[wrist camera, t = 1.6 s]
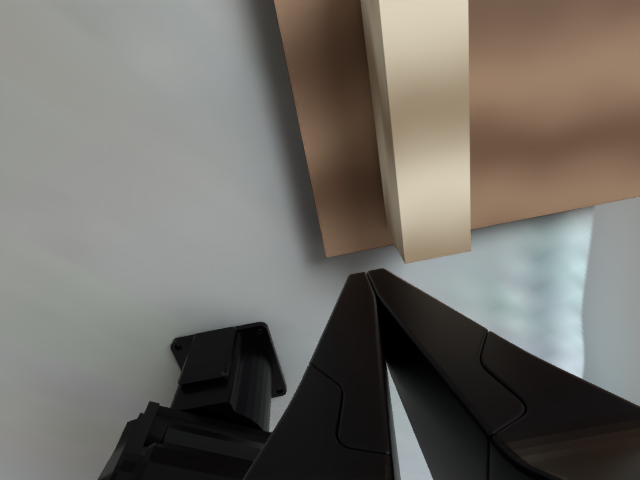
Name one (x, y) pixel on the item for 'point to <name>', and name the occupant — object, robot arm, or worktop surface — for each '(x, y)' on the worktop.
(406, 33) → the leg
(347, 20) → the seat board
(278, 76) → the worktop surface
